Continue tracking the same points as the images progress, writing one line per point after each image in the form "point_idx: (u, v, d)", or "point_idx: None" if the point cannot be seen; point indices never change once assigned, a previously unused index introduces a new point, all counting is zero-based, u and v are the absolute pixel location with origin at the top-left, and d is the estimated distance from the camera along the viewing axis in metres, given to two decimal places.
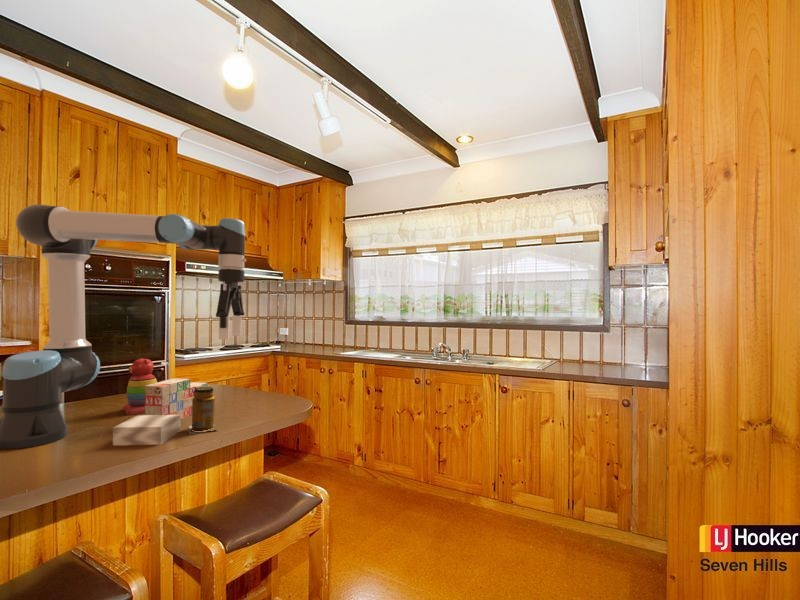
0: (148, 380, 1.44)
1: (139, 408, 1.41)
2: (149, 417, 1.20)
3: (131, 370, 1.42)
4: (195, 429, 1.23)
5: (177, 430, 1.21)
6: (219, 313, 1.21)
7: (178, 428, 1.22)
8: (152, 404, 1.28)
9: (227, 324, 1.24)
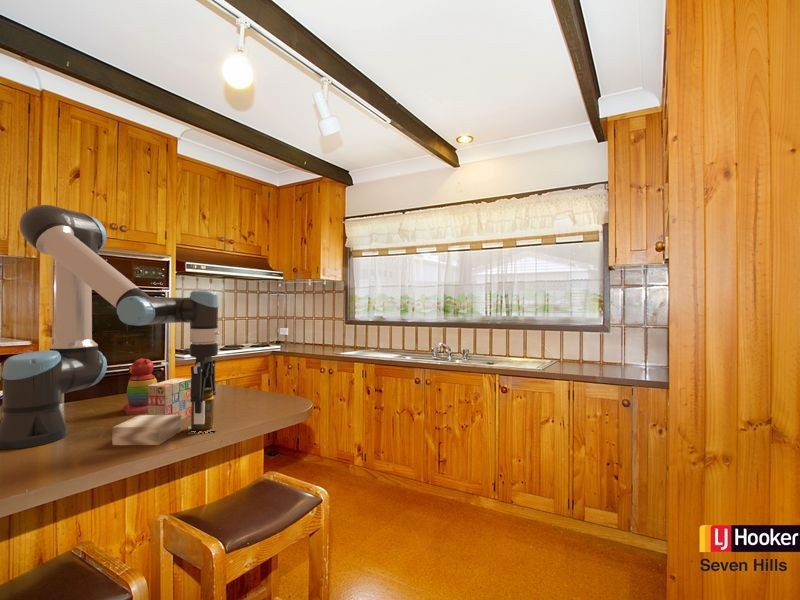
0: (148, 380, 1.44)
1: (139, 408, 1.41)
2: (150, 417, 1.20)
3: (131, 370, 1.42)
4: (194, 430, 1.22)
5: (177, 430, 1.21)
6: (193, 400, 1.18)
7: (178, 428, 1.22)
8: (155, 403, 1.28)
9: (202, 409, 1.21)
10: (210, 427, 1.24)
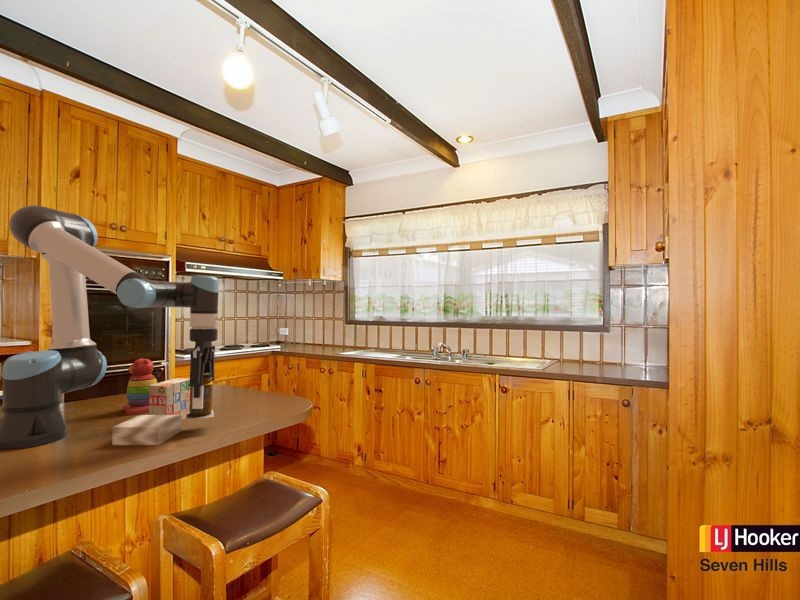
0: (148, 380, 1.44)
1: (139, 408, 1.41)
2: (150, 417, 1.20)
3: (131, 370, 1.42)
4: (192, 414, 1.22)
5: (177, 430, 1.21)
6: (192, 384, 1.18)
7: (179, 429, 1.21)
8: (156, 403, 1.29)
9: (201, 393, 1.21)
10: (208, 412, 1.24)
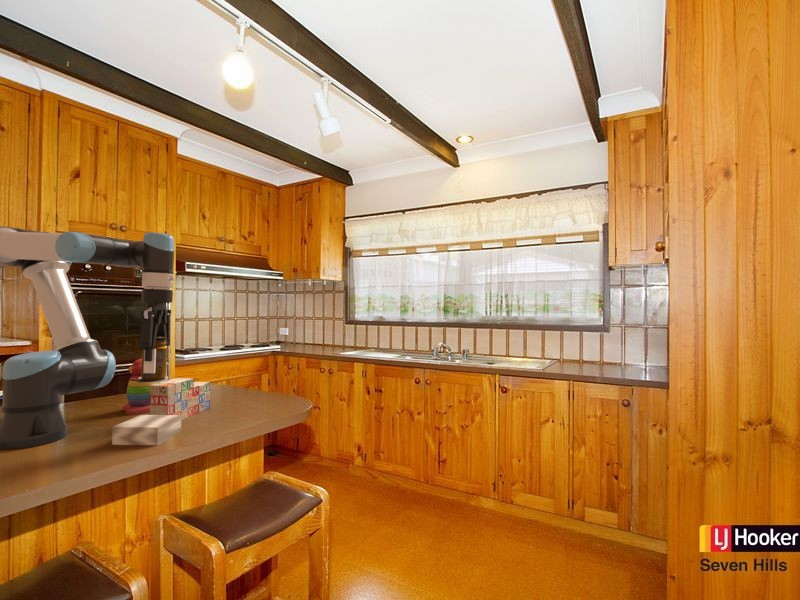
0: None
1: (139, 408, 1.41)
2: (150, 417, 1.20)
3: (131, 370, 1.42)
4: (144, 379, 1.15)
5: (177, 431, 1.21)
6: (143, 346, 1.11)
7: (179, 429, 1.21)
8: (157, 403, 1.29)
9: (153, 357, 1.14)
10: (162, 377, 1.17)
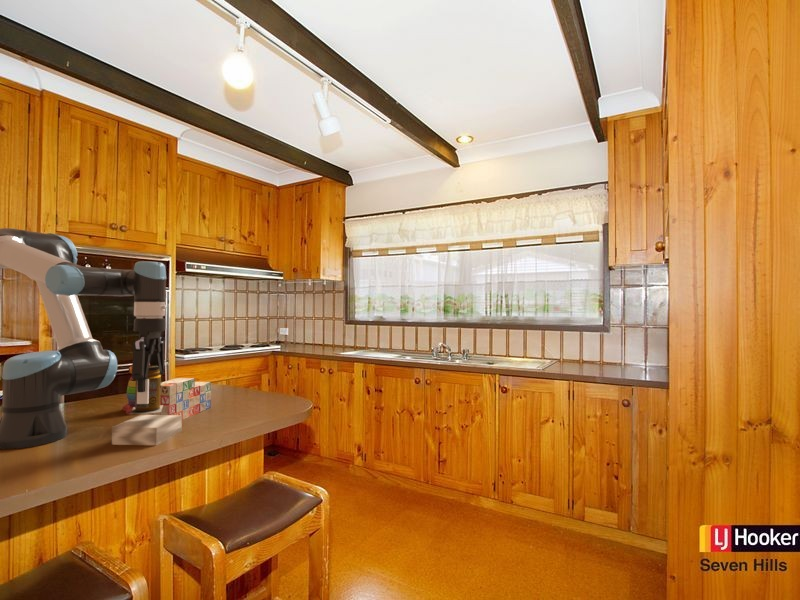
0: None
1: None
2: (151, 417, 1.20)
3: (131, 370, 1.42)
4: (138, 410, 1.14)
5: (178, 431, 1.20)
6: (135, 377, 1.10)
7: (179, 429, 1.21)
8: None
9: (146, 387, 1.13)
10: (156, 407, 1.16)
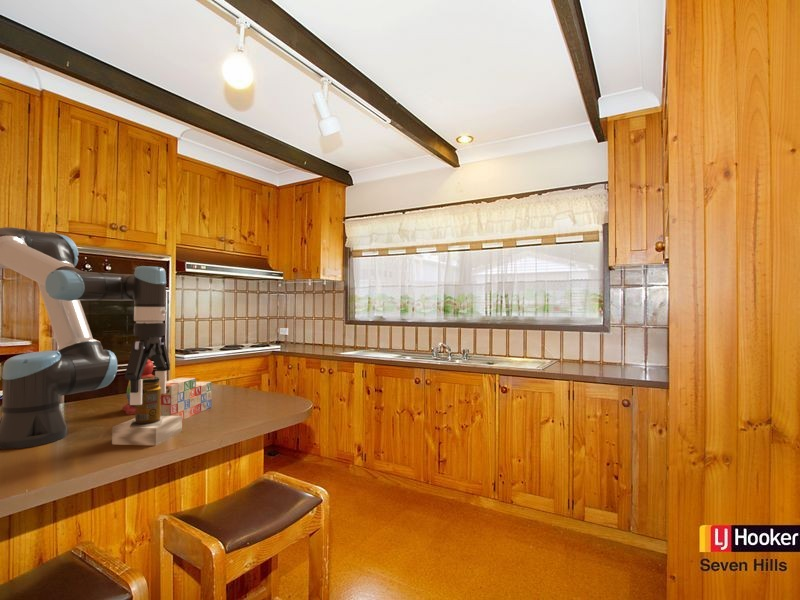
0: None
1: None
2: None
3: None
4: (138, 422, 1.14)
5: (178, 431, 1.20)
6: (128, 377, 1.06)
7: (179, 430, 1.21)
8: None
9: (139, 388, 1.09)
10: (156, 419, 1.15)
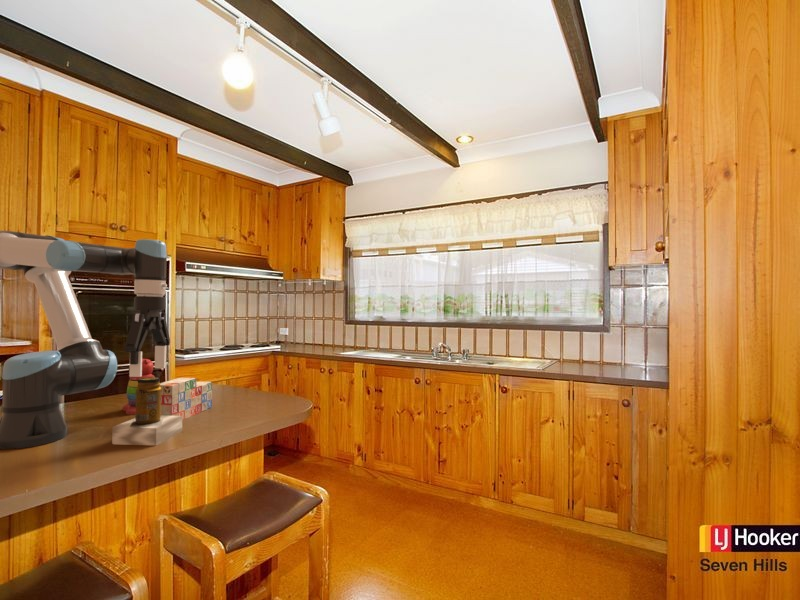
0: None
1: None
2: None
3: None
4: (138, 422, 1.13)
5: (178, 431, 1.20)
6: (127, 348, 1.07)
7: (180, 429, 1.21)
8: (161, 402, 1.30)
9: (139, 360, 1.10)
10: (156, 420, 1.15)
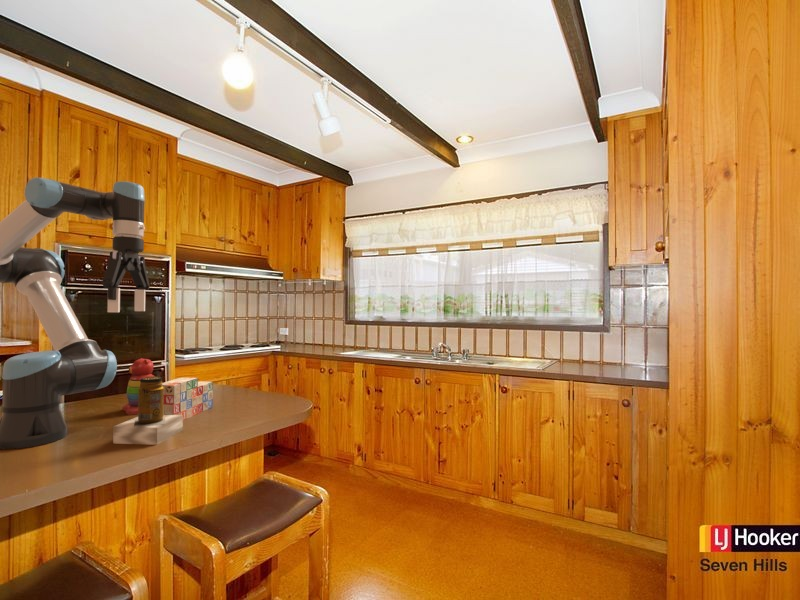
0: None
1: None
2: None
3: (131, 370, 1.42)
4: (141, 422, 1.14)
5: (179, 431, 1.21)
6: (105, 283, 1.10)
7: (180, 429, 1.22)
8: None
9: (117, 296, 1.13)
10: (159, 419, 1.16)
